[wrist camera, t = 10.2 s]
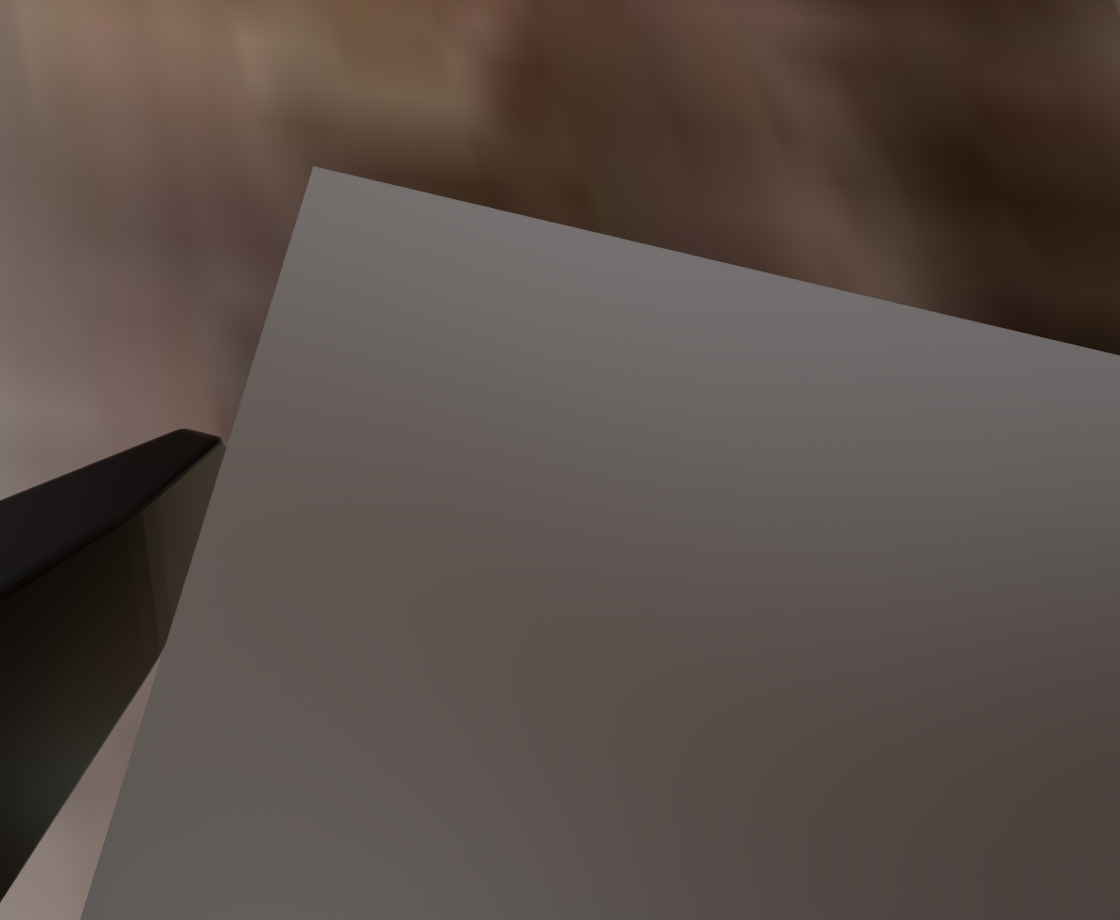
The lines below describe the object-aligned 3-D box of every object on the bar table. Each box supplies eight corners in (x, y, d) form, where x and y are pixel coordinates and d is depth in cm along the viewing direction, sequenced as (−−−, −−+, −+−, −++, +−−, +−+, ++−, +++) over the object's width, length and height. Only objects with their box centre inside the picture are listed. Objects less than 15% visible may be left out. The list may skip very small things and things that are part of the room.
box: (714, 863, 16) (1283, 1789, 3) (418, 786, 16) (-67, 1395, 4) (776, 563, 17) (1423, 426, 4) (493, 493, 17) (313, 167, 4)
